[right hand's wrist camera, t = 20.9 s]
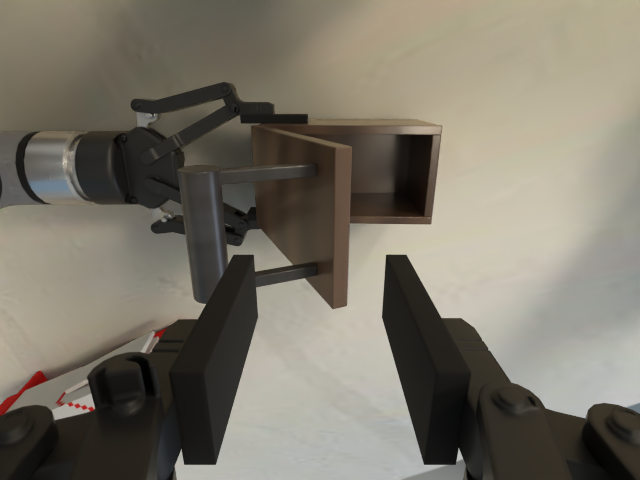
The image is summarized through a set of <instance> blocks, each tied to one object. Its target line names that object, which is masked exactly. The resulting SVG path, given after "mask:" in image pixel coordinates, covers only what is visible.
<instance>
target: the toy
mask: <svg viewBox="0 0 640 480" xmlns="http://www.w3.org/2000/svg"><path fill="white" fill-rule="evenodd" d="M166 329H167V328H166ZM166 329H164V330H162V331H159V332H157V333H155V332H154V331H153V330H152V331H150V332H148V333H146V334H144V335H143V336H141V337H139V338H137V339H135V340H133V341H131V342H129V343H127V344H126V345H124V346H122V347H120V348H118V349H116V350H114V351H112V352H110V353H109V354H107V355H105V356H103V357H101V358H99V359H97V360H95V361H93V362H92V363H90V364H88V365H86V366H82V367H80V368H77V369H75V370H72V371H70V372H68V373H65V374H63V375H61V376H58V377H56V378H53V379H51V380H49V381H48V380H47V378H46V377H45V376H44V375H43V373H42V372H41V371H39V372H37V373H36V374H35V375H34V376H33V377H32V378H31V379H30V380H29V381H28V383H27V384H26V385H25V386H24V387H23V388H22V389H21V390H20V391H19V392H18V394H15V395H13V396H11V397H8V398H7V399H6V400H5V401H4V402H3V403H2V404H1V405H0V416H1V415H3V414H5V413H7V412H9V411H12V410H14V409H17V408H20V407H23V406H30V405H41V406H47V407H48V408H49V409H50V410H51V411H52V412H53V415H54V419H55V420H58V419H62V418H66V417H70V416H75V415H79V414H83V413H87V412H90V411H93V410H94V409H95V406H94V402H93V398H92V395H91V391H90V387H89V383H88V380H87V376H88V374H89V373H90V372H91V370H92V369H93V368H94V367H96V366H97V365H98V364H100V363H101V362H102V361H104V360H106V359H109V358H111V357H113V356H115V355H119V354H123V353H127V352H143V353H147V354H150V352H152V349H153V348H154V346H155V345H156V343H158V340H159V339H160V337H161V336H162V334H163V333H164V331H165V330H166Z"/></svg>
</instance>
